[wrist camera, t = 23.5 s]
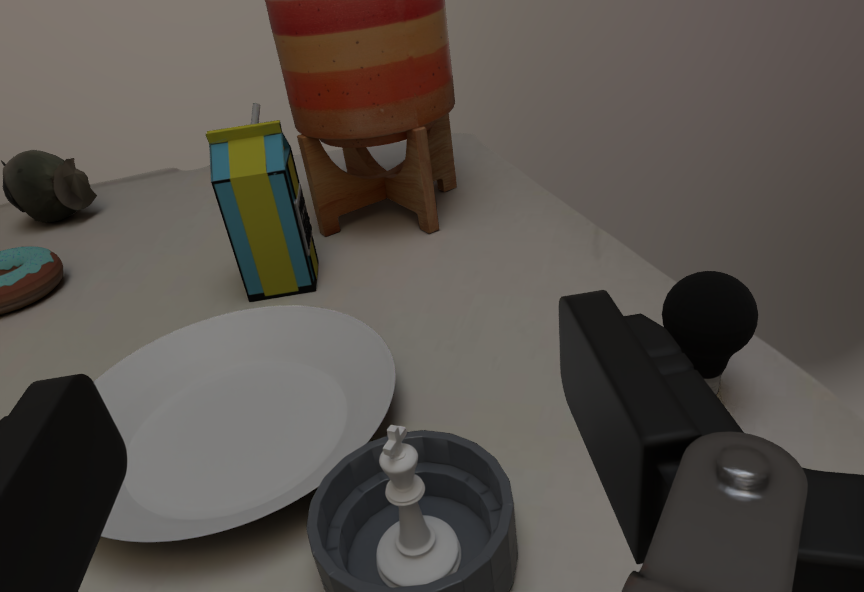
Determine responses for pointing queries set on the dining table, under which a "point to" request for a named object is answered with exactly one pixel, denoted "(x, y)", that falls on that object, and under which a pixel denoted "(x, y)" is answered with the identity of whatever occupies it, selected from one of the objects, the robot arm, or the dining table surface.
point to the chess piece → (412, 524)
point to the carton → (263, 208)
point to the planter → (368, 100)
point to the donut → (27, 276)
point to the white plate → (240, 417)
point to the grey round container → (443, 498)
